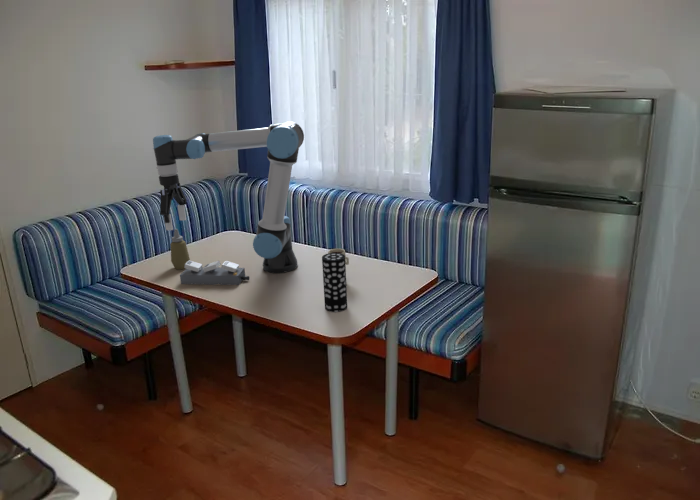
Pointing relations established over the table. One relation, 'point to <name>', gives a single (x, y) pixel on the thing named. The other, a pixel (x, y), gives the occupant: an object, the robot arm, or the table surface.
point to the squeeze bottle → (179, 251)
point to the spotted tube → (334, 282)
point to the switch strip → (213, 277)
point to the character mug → (341, 253)
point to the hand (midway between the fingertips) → (176, 225)
